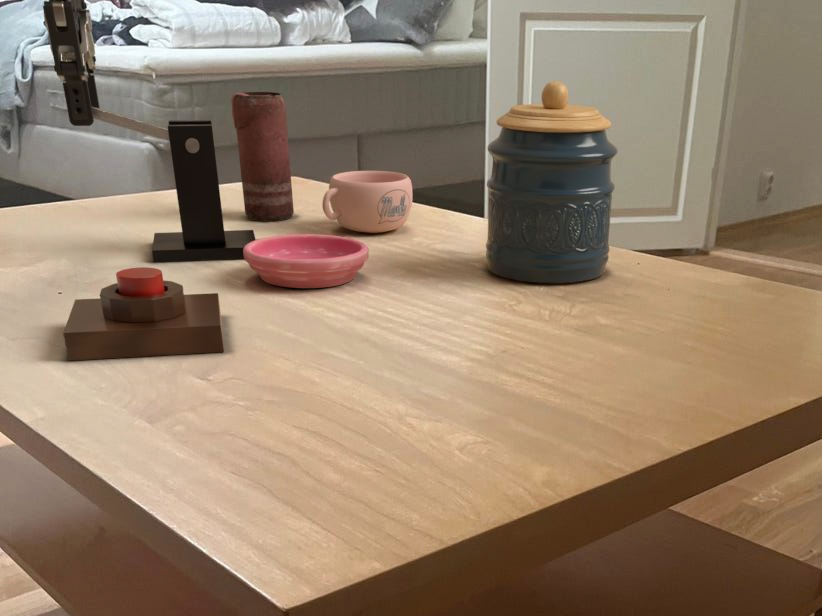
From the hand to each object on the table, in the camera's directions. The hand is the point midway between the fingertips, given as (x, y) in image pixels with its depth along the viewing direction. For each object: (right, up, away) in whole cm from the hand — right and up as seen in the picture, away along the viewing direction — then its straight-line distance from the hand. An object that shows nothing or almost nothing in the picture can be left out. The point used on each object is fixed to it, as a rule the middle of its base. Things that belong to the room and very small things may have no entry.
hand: (86, 120), depth 102 cm
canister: (+47, -14, +4) cm, 49 cm away
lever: (+5, -1, +2) cm, 5 cm away
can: (+13, +1, +26) cm, 29 cm away
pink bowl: (+23, -16, 0) cm, 28 cm away
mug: (+26, -4, +20) cm, 33 cm away
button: (+12, -24, -20) cm, 34 cm away
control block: (+12, -27, -18) cm, 35 cm away
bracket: (+10, -10, +9) cm, 17 cm away
